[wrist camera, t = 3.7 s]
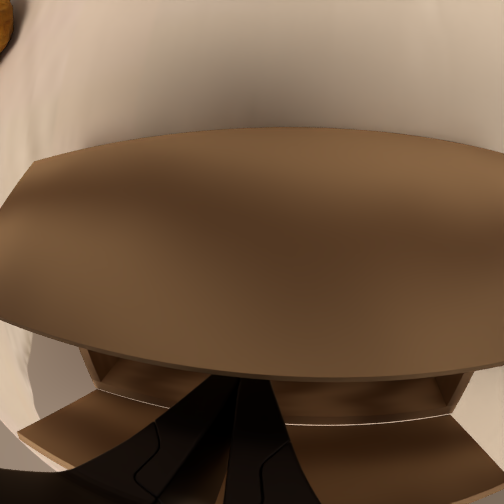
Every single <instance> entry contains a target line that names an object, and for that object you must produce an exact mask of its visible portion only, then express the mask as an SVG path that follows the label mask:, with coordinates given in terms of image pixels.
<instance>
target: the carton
mask: <svg viewBox="0 0 504 504" xmlns="http://www.w3.org/2000/svg"><path fill="white" fill-rule="evenodd" d="M79 350H80V352H81V355H82V357H83V360H84V362H85V365H86V367H87V369H88V372H89V374H90V376H91V378H92V381H93V382H94V385H95V387H96V388H98V389H102V390H105V391H108V392H111V393H115V394H118V395H121V396H125V397H128V398H132V399H135V400H139V401H144V402H147V403H151V404H155V405H159V406H164V407H168V408H171V407H172V406H173V405H174V404H176V403H177V402H178V401H179V400H181V399H182V398H183V397H184V396H186V395H187V394H188V393H189V392H191V391H192V390H193V389H194V388H196V387H197V386H198V385H199V384H200V383H202V382H203V381H204V380H205V379H206V378H208V377H209V376H210V375H211V374H207V373H199V372H193V371H186V370H180V369H174V368H168V367H163V366H157V365H152V364H147V363H142V362H137V361H133V360H128V359H124V358H120V357H115V356H111V355H107V354H103V353H99V352H95V351H92V350H88V349H84V348H81V347H79ZM473 373H474V371H471V372H465V373H459V374H452V375H444V376H436V377H427V378H417V379H406V380H392V381H373V382H297V381H278V380H270V381H271V384H272V387H273V390H274V393H275V395H276V398H277V401H278V404H279V407H280V410H281V413H282V416H283V419H284V422H285V423H286V424H312V425H340V424H366V423H381V422H392V421H402V420H411V419H418V418H425V417H432V416H438V415H443V414H449V413H452V412H453V410H454V409H455V407H456V405H457V403H458V402H459V400H460V398H461V396H462V394H463V392H464V391H465V389H466V387H467V385H468V383H469V381H470V379H471V377H472V375H473Z"/></svg>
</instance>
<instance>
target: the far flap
mask: <svg viewBox="0 0 504 504" xmlns="http://www.w3.org/2000/svg"><path fill="white" fill-rule="evenodd" d="M167 410H168V409H167V408H162V407H159V406H154V405H150V404H146V403H142V402H139V401H135V400H131V399H128V398H124V397H121V396H117V395H114V394H111V393H107V392H104V391H101V390H98V389H96V390H95V391H93V392H91V393H89V394H88V395H86V396H84V397H82V398H80V399H78V400H77V401H75V402H73V403H71V404H70V405H67V406H65V407H64V408H62V409H60V410H58V411H56V412H54V413H52V414H51V415H49V416H47V417H45V418H43V419H41V420H39V421H37V422H35V423H33V424H31V425H29V426H27V427H25V428H23V429H21V430H19V431H17V433H18V436H19V439H20V440H22V441H23V442H24V443H26V444H27V445H29V446H30V447H32V448H33V449H35V450H36V451H38V452H39V453H41V454H43V455H44V456H46V457H47V458H49V459H51V460H52V461H54V462H56V463H58V464H59V465H61V466H63V467H65V468H66V469H68V470H69V469H73V468H75V467H77V466H79V465H81V464H83V463H85V462H87V461H89V460H91V459H93V458H95V457H97V456H99V455H101V454H103V453H105V452H107V451H108V450H110V449H112V448H114V447H116V446H117V445H119V444H121V443H122V442H124V441H126V440H127V439H129V438H130V437H132V436H133V435H135V434H136V433H138V432H139V431H140V430H142V429H143V428H145V427H146V426H147V425H149V424H150V423H151V422H155V419H157V418H158V417H159V416H160V415H162V414H163V413H164V412H166V411H167ZM286 428H287V431H288V434H289V436H290V439H291V443H292V445H293V447H294V450H295V453H296V456H297V458H298V460H299V463H300V465H301V468H302V470H303V472H304V474H305V476H306V478H307V480H308V482H309V484H310V485H311V487H312V489H313V491H314V492H315V494H316V496H317V497H318V499H319V501H320V502H321V504H469V503H471V502H474V501H477V500H479V499H482V498H484V497H486V496H489V495H491V494H493V493H496V492H498V491H500V490H502V489H504V472H503V471H502V469H501V468H500V467H499V466H498V465H497V464H496V463H495V462H494V461H493V460H492V459H491V457H490V456H489V455H488V454H487V453H486V452H485V451H484V450H483V449H482V448H481V447H480V446H479V445H478V443H477V442H476V441H475V440H474V439H473V438H472V437H471V436H470V435H469V434H468V433H467V432H466V431H465V430H464V429H463V428H462V427H461V425H460V424H459V423H458V422H457V421H456V420H455V419H454V418H453V417H452V416H451V415H444V416H439V417H433V418H426V419H420V420H412V421H404V422H395V423H384V424H370V425H350V426H302V425H286ZM226 476H227V472H226V475H225V478H224V480H223V483H222V486H221V489H220V492H219V494H218V497H217V500H216V503H215V504H223V500H224V492H225V484H226Z"/></svg>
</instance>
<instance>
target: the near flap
mask: <svg viewBox="0 0 504 504" xmlns="http://www.w3.org/2000/svg"><path fill="white" fill-rule="evenodd" d="M0 320H2V321H4V322H7V323H9V324H12V325H14V326H17V327H20V328H22V329H25V330H28V331H31V332H33V333H36V334H39V335H42V336H45V337H48V338H51V339H55V340H57V341H61V342H64V343H67V344H70V345H74V346H77V347H81V348H84V349H88V350H92V351H95V352H99V353H103V354H107V355H111V356H115V357H120V358H124V359H128V360H133V361H137V362H142V363H147V364H152V365H157V366H163V367H168V368H174V369H180V370H186V371H193V372H199V373H207V374H214V375H222V376H231V377H241V378H251V379H263V380H278V381H297V382H373V381H392V380H406V379H417V378H427V377H436V376H444V375H452V374H459V373H465V372H471V371H477V370H483V369H488V368H493V367H498V366H503V365H504V154H503V153H500V152H496V151H492V150H487V149H483V148H479V147H474V146H470V145H465V144H460V143H455V142H450V141H444V140H438V139H432V138H426V137H419V136H412V135H405V134H396V133H388V132H378V131H367V130H353V129H337V128H310V127H266V128H238V129H221V130H208V131H196V132H186V133H177V134H169V135H161V136H153V137H146V138H140V139H133V140H127V141H122V142H116V143H111V144H105V145H100V146H95V147H91V148H86V149H81V150H77V151H73V152H68V153H64V154H60V155H56V156H53V157H49V158H45V159H42V160H38V161H34V162H33V164H32V165H31V166H30V167H29V169H28V170H27V171H26V173H25V174H24V175H23V177H22V178H21V179H20V181H19V182H18V183H17V185H16V186H15V188H14V189H13V191H12V192H11V193H10V195H9V196H8V198H7V199H6V201H5V202H4V204H3V205H2V207H1V208H0Z"/></svg>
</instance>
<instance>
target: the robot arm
mask: <svg viewBox="0 0 504 504" xmlns="http://www.w3.org/2000/svg"><path fill="white" fill-rule="evenodd" d="M226 472H227V476H226V484H225V492H224V500H223V504H321V502H320V501H319V499H318V497H317V496H316V494H315V492H314V491H313V489H312V487H311V485H310V484H309V482H308V480H307V478H306V476H305V474H304V472H303V470H302V468H301V465H300V463H299V460H298V458H297V456H296V453H295V450H294V447H293V445H292V443H291V439H290V436H289V434H288V431H287V428H286V425H285V422H284V419H283V416H282V413H281V410H280V407H279V404H278V401H277V398H276V395H275V393H274V390H273V387H272V384H271V381H270V380H263V379H251V378H241V377H231V376H222V375H214V374H211V375H210V376H209V377H208V378H206V379H205V380H204V381H203V382H202V383H200V384H199V385H198V386H197V387H196V388H194V389H193V390H192V391H191V392H189V393H188V394H187V395H186V396H184V397H183V398H182V399H181V400H179V401H178V402H177V403H176V404H174V405H173V406H172V407H171V408H169V409H168V410H167V411H166V412H164V413H163V414H162V415H160V416H159V417H158V418H157V419H155V422H151V423H150V424H149V425H147V426H146V427H145V428H143V429H142V430H140V431H139V432H138V433H136V434H135V435H133V436H132V437H130V438H129V439H127V440H126V441H124V442H122V443H121V444H119V445H117V446H116V447H114V448H112V449H110V450H108V451H107V452H105V453H103V454H101V455H99V456H97V457H95V458H93V459H91V460H89V461H87V462H85V463H83V464H81V465H79V466H77V467H75V468H73V469H69V470H66V471H61V472H33V471H20V470H11V469H2V468H0V504H215V503H216V500H217V497H218V494H219V492H220V489H221V486H222V483H223V480H224V478H225V475H226Z"/></svg>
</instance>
